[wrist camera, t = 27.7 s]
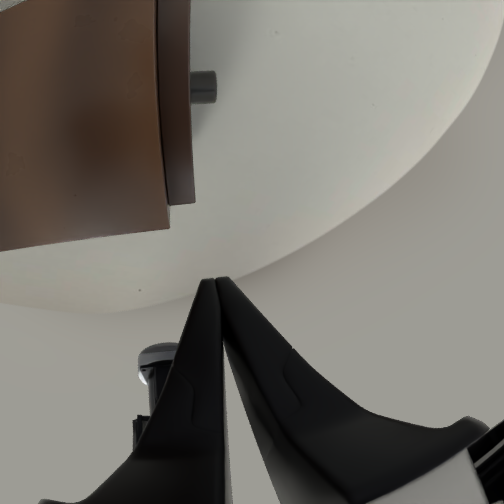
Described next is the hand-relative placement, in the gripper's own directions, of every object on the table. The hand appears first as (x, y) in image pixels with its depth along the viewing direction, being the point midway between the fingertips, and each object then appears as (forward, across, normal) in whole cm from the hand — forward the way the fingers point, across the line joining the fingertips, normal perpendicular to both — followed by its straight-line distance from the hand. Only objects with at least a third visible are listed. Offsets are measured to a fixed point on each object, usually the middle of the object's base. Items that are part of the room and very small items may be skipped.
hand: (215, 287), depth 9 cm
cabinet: (+11, +9, -5) cm, 15 cm away
